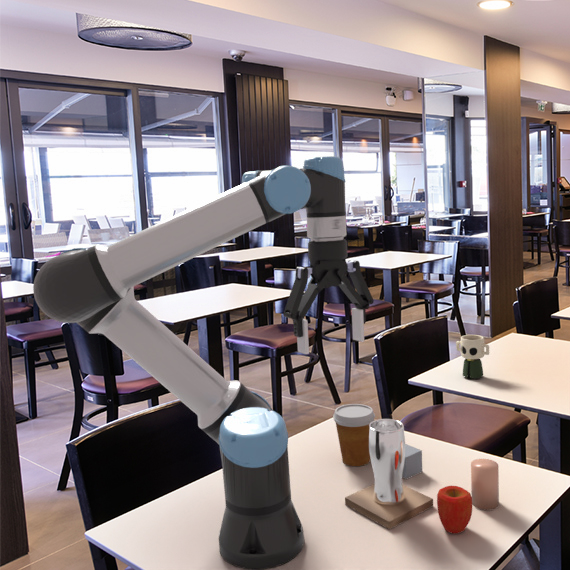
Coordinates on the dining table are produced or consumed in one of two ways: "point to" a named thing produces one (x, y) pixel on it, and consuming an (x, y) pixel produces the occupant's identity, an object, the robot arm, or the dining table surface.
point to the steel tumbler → (387, 460)
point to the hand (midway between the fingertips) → (331, 346)
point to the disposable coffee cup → (354, 432)
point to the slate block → (412, 461)
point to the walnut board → (389, 514)
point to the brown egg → (485, 484)
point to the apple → (454, 508)
